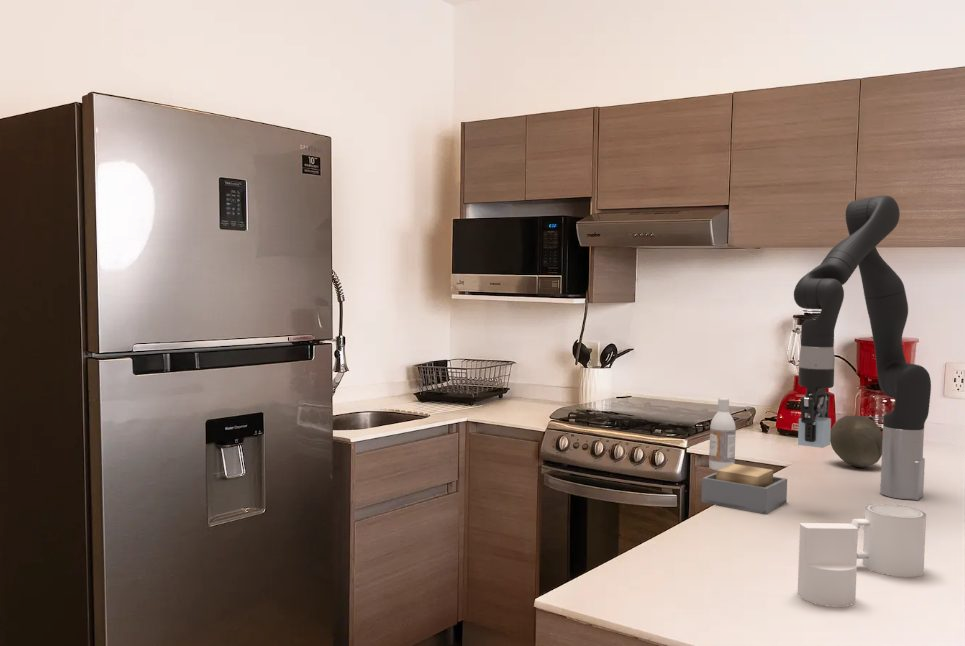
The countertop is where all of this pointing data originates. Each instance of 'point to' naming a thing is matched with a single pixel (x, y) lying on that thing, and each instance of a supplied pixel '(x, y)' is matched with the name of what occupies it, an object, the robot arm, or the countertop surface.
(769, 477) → the oak block
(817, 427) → the light blue cube
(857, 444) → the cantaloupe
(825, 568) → the base with upright slab
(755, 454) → the countertop surface
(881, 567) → the mug
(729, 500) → the tote
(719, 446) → the bath foam
